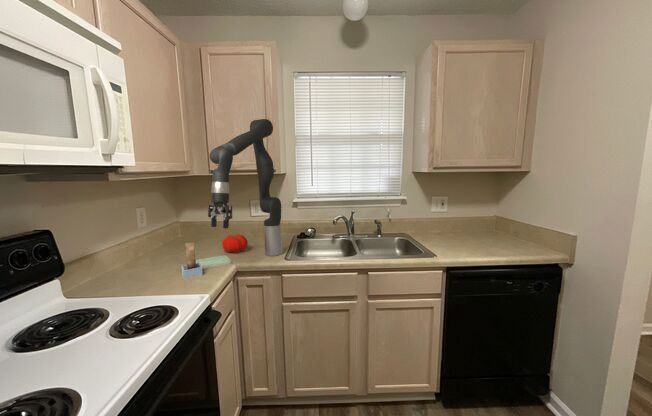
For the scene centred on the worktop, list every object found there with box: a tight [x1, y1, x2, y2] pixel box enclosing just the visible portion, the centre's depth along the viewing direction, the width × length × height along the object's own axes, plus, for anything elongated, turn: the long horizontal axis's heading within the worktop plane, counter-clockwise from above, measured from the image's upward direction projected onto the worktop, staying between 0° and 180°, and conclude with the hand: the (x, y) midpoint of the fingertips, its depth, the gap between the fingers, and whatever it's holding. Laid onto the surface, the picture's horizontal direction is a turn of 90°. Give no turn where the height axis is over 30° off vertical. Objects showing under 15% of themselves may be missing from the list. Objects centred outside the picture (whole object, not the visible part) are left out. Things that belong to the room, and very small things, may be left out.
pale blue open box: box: [180, 263, 204, 280], centre depth 127 cm, size 8×8×4 cm
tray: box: [195, 254, 232, 270], centre depth 142 cm, size 16×12×2 cm
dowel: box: [184, 241, 197, 269], centre depth 126 cm, size 4×4×15 cm
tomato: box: [221, 233, 249, 254], centre depth 165 cm, size 14×16×10 cm
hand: (219, 227), depth 124 cm, fingers open, 8 cm apart
